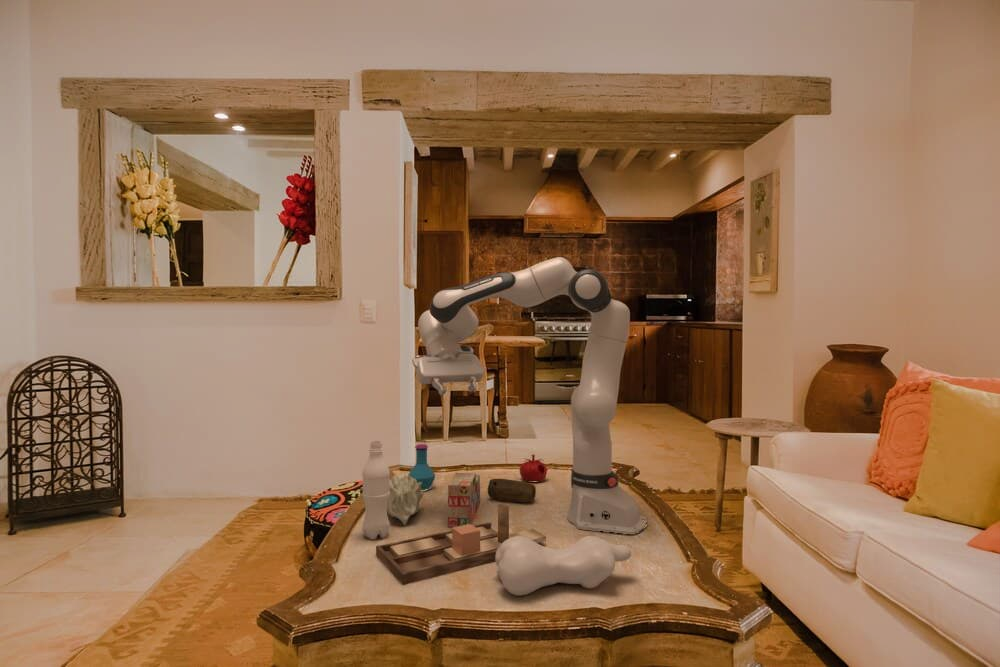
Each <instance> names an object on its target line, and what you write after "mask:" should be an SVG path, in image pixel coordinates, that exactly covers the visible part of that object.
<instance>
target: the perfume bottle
mask: <svg viewBox="0 0 1000 667" xmlns="http://www.w3.org/2000/svg"><path fill="white" fill-rule="evenodd" d="M414 448H415V452H416V457H415V458H416V459H415V460H416V463H415V464H414V466H413V468H412V469H411V470H410V472H409V473H408V475H407V476H410V477H412V478H414V479H416V481H417V483H419V482H422V485H421V490H425V489H429V488H430V487H431V488H432V486H433V484H434V481H435V477H436V473H435V472H434V471H433V469H432V468H431V467H430V465H429V464H428V448H429V446H428V445H427V444H426V443H420V444H416V445H415V446H414Z"/></svg>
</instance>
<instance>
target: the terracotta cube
mask: <svg viewBox="0 0 1000 667" xmlns="http://www.w3.org/2000/svg"><path fill="white" fill-rule="evenodd" d="M451 530H452V549H454V550H455V551H456V552H457V553H459V554H460V555H461V556H463V555H467V554H471V553H475V552H479V551H480V530H479V529H477V528H476V527H474V525H473V524H467V525H463V526H458V527H453V528H451Z"/></svg>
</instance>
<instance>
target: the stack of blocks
mask: <svg viewBox="0 0 1000 667" xmlns="http://www.w3.org/2000/svg"><path fill="white" fill-rule="evenodd" d="M480 478H481V476H480V474H477V473H476V472H455V473H454V476H453V477H452V478H451V480H450V481H449V483H448V484H447V512H448V513H447V528H451V529H452V528H453V527H458V526H463V525H467V524H471V525H473V522H474V521H475V518H476V513H477V511H478V510H479V507H480V504H481V484H480V483H481V482H480V481H481V480H480Z"/></svg>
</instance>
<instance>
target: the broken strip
mask: <svg viewBox="0 0 1000 667" xmlns="http://www.w3.org/2000/svg"><path fill="white" fill-rule="evenodd" d="M477 529H479V530H480V538H482V537H487V536H491V535H494V533H492V532H491V531H489V530H487V529H486V528H484V527H483V526H482V527H478V528H477ZM446 540H447V541H449V542H450V543H451V544H452V533H450V534H446ZM438 547H441V545H440V544H439V543H438V542H436V541H435V540H434V539H433V538H427V539H422V540H417V541H413V542H408V543H403V544H399V545H394V546H390V552H391V553H392V554H393V555H394V556H395V557H399V556H403V555H407V554H412V553H416V552H421V551H425V550H429V549H434V548H438Z"/></svg>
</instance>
